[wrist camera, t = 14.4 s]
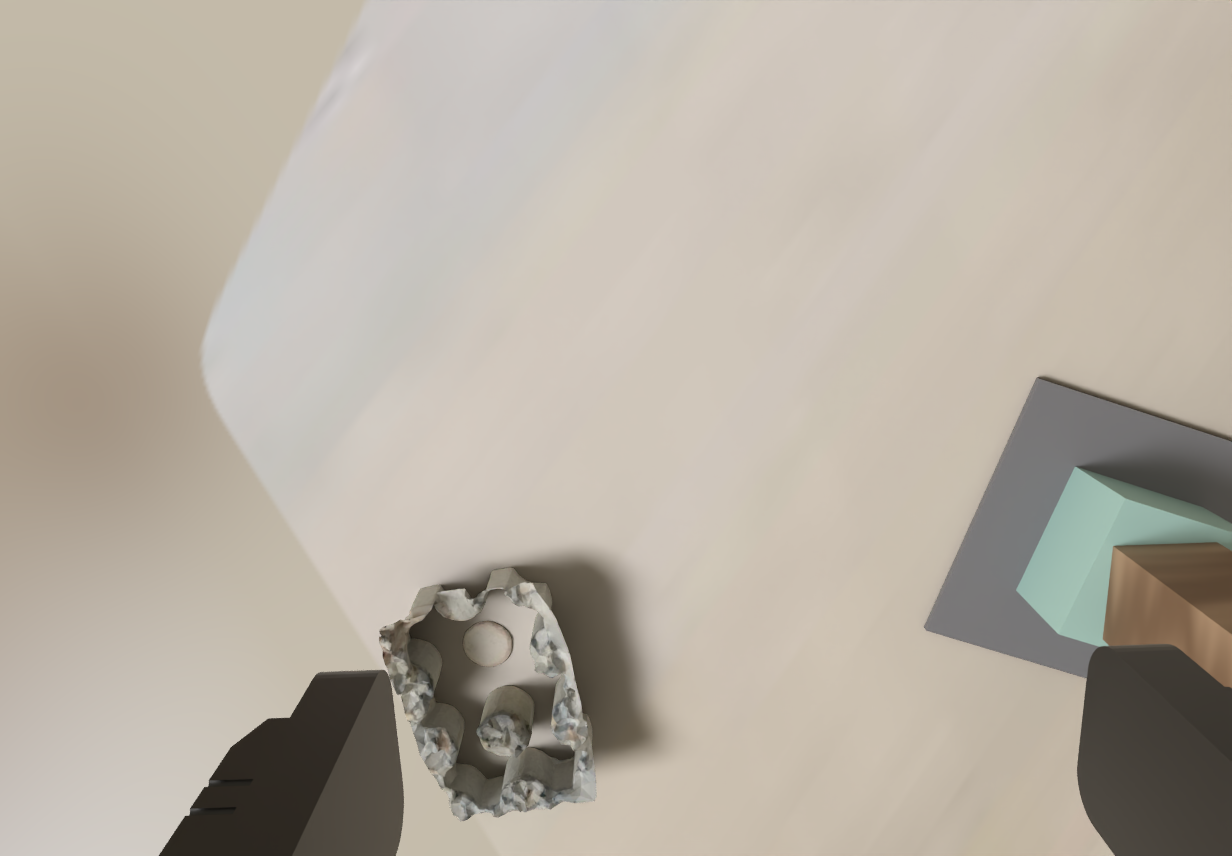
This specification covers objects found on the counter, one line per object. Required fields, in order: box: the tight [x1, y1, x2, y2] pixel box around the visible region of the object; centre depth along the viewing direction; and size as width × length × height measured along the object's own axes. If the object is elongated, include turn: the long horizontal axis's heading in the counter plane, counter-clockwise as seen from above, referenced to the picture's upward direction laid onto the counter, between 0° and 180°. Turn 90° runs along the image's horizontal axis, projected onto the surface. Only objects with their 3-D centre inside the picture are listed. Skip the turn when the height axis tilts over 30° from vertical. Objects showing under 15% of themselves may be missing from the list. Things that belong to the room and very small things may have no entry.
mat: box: [924, 378, 1232, 678], centre depth 40 cm, size 12×12×1 cm
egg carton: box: [379, 567, 596, 821], centre depth 40 cm, size 11×8×4 cm
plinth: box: [1016, 467, 1232, 647], centre depth 38 cm, size 6×6×4 cm
